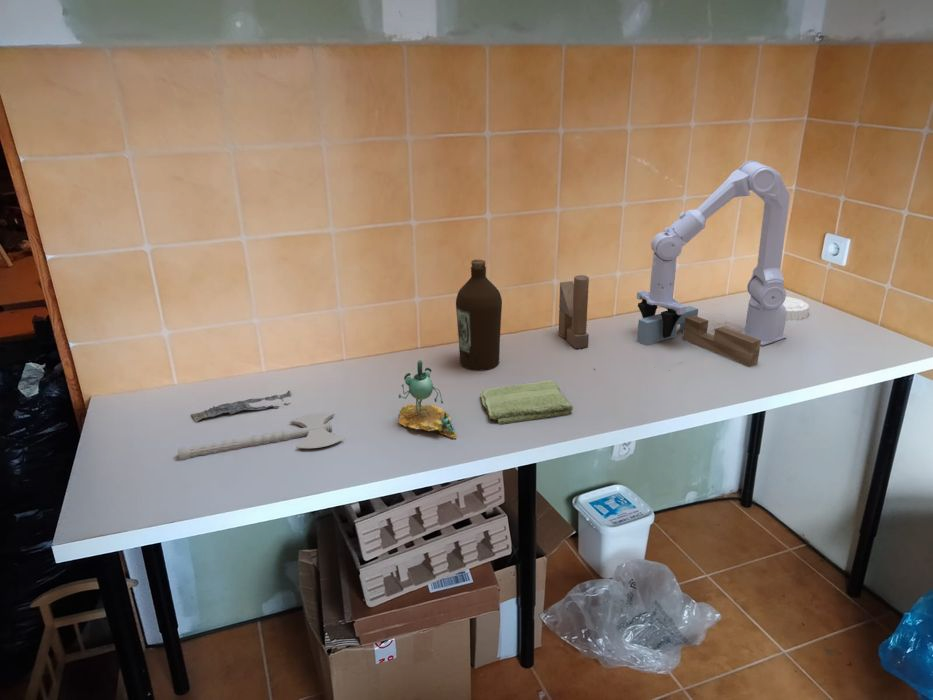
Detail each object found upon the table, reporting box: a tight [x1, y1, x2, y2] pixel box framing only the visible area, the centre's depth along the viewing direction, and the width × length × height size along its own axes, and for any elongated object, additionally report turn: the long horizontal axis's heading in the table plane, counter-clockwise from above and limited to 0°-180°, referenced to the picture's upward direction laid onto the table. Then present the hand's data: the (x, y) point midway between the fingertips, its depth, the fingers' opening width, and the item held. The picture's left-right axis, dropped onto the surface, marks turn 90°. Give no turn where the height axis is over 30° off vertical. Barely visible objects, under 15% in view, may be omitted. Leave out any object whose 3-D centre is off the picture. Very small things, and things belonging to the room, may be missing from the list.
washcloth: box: [479, 379, 574, 425], centre depth 147 cm, size 13×18×3 cm
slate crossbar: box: [636, 305, 699, 346], centre depth 180 cm, size 18×3×6 cm, turn 122°
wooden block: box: [558, 274, 590, 350], centre depth 176 cm, size 4×11×18 cm, turn 17°
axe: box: [177, 412, 345, 461], centre depth 136 cm, size 30×14×2 cm, turn 109°
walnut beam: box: [682, 315, 761, 368], centre depth 171 cm, size 3×20×6 cm, turn 32°
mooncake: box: [783, 295, 810, 321], centre depth 195 cm, size 12×12×4 cm
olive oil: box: [455, 259, 503, 371], centre depth 163 cm, size 11×11×25 cm
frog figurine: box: [398, 359, 458, 439], centre depth 140 cm, size 10×18×15 cm, turn 29°
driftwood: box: [191, 390, 292, 423], centre depth 149 cm, size 21×7×2 cm, turn 109°
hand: (657, 332), depth 179 cm, fingers open, 6 cm apart
